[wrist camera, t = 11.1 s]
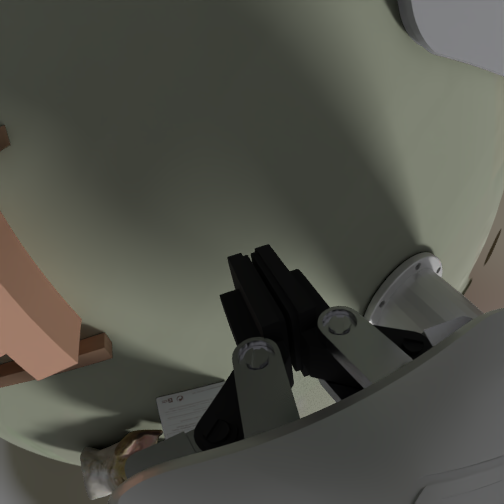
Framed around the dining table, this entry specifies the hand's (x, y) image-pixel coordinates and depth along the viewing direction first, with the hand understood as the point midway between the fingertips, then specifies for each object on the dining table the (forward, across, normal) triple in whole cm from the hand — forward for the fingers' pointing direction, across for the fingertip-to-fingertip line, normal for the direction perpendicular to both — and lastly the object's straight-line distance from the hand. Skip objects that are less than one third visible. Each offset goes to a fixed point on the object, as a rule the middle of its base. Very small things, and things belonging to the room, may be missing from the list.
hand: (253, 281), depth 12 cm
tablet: (+8, -28, -18) cm, 34 cm away
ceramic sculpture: (+7, +18, +24) cm, 31 cm away
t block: (+6, +17, 0) cm, 18 cm away
